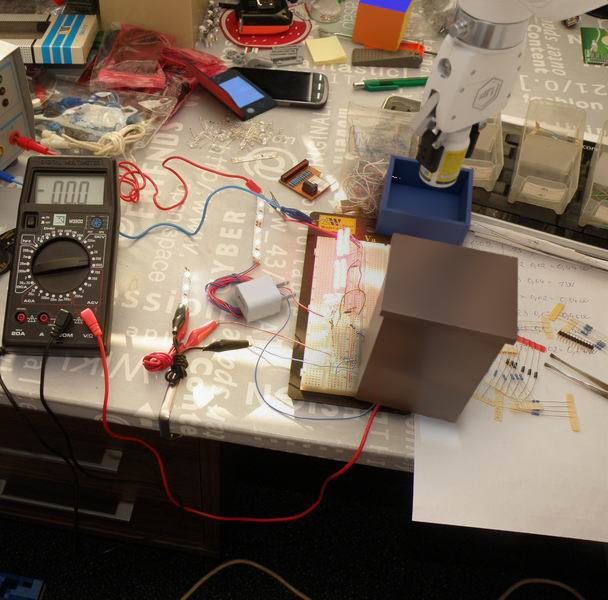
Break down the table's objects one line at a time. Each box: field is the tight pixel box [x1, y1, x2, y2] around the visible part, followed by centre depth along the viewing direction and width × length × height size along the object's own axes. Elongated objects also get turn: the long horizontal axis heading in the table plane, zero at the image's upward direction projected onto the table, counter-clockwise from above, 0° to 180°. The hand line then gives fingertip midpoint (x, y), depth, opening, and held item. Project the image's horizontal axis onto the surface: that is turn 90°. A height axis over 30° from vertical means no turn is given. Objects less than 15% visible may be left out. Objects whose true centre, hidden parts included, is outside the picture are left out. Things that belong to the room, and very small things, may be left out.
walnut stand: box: [354, 233, 519, 424], centre depth 70 cm, size 12×10×18 cm
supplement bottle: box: [419, 124, 472, 188], centre depth 83 cm, size 5×5×8 cm
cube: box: [351, 0, 415, 53], centre depth 117 cm, size 8×8×8 cm
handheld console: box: [181, 56, 278, 123], centre depth 106 cm, size 12×11×7 cm
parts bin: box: [374, 154, 475, 247], centre depth 91 cm, size 11×11×5 cm
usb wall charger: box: [234, 274, 297, 324], centre depth 82 cm, size 4×7×4 cm, turn 112°
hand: (443, 157), depth 84 cm, fingers closed on supplement bottle, 4 cm apart
